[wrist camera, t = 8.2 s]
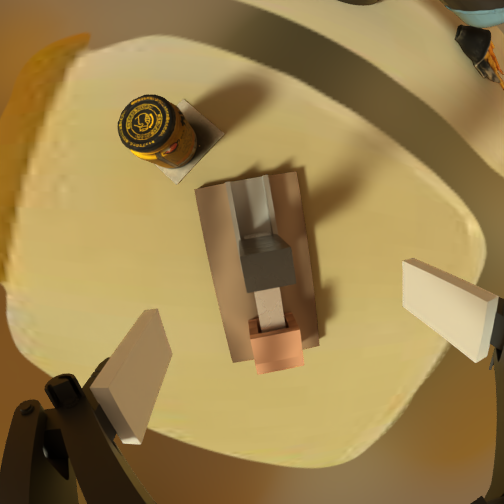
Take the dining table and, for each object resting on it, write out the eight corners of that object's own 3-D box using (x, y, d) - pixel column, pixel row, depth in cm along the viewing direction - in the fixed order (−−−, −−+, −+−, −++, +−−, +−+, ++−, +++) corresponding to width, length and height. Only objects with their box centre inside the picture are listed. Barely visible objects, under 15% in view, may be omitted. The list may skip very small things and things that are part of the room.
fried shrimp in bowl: (461, 9, 24) (533, 62, 21) (446, 47, 34) (512, 94, 31) (466, 20, 22) (544, 82, 18) (446, 63, 32) (519, 116, 29)
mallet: (273, 230, 32) (291, 247, 22) (289, 338, 35) (308, 389, 25) (238, 236, 32) (239, 256, 22) (259, 344, 35) (268, 397, 24)
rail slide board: (293, 172, 34) (307, 167, 27) (316, 340, 38) (330, 365, 32) (196, 189, 33) (187, 188, 27) (232, 357, 38) (232, 385, 31)
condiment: (137, 148, 32) (94, 129, 20) (183, 99, 31) (161, 58, 19) (176, 185, 33) (147, 180, 21) (224, 134, 32) (219, 104, 21)
